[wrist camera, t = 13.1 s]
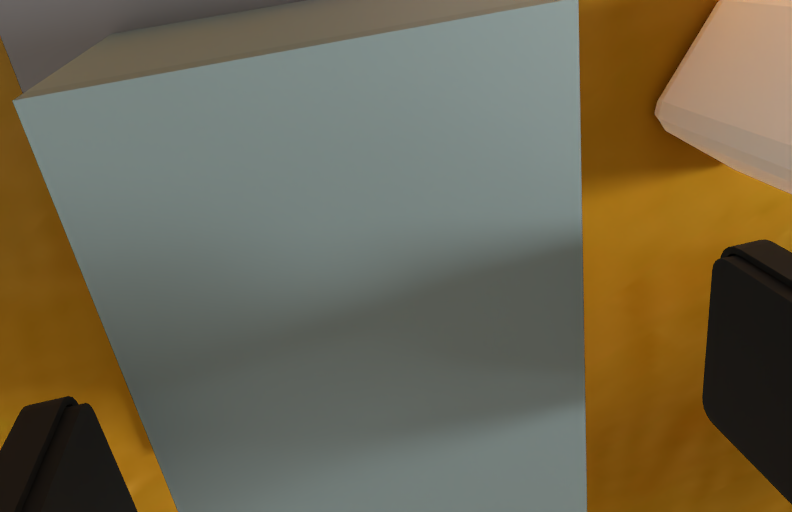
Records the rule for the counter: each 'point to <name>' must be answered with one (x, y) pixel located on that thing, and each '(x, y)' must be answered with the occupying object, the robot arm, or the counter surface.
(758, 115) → the pepper shaker
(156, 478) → the counter surface
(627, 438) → the counter surface
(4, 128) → the counter surface
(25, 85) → the plate
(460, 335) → the sage green block
